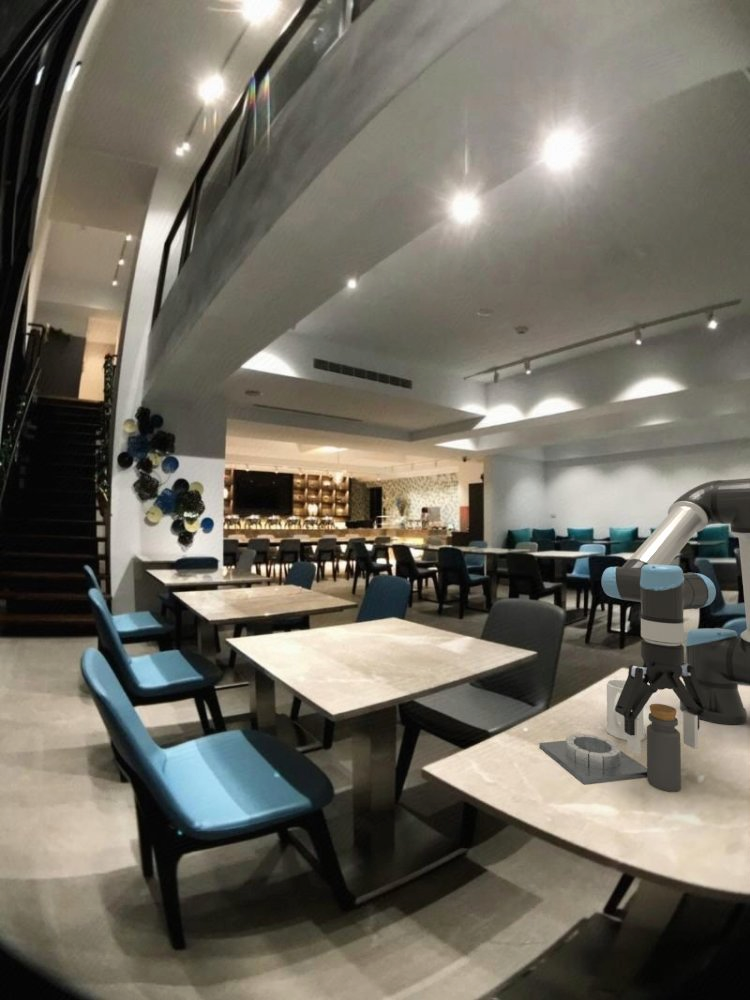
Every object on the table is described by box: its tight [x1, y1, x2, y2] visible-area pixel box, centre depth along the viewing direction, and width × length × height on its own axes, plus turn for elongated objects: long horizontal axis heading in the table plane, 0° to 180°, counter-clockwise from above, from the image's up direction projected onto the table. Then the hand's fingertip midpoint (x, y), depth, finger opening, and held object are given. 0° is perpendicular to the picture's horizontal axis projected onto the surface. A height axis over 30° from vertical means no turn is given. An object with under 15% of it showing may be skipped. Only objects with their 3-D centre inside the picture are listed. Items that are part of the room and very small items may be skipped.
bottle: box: [646, 703, 682, 793], centre depth 96 cm, size 6×6×15 cm
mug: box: [605, 679, 646, 741], centre depth 118 cm, size 12×8×12 cm
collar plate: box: [538, 733, 647, 785], centre depth 105 cm, size 16×16×4 cm
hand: (662, 748), depth 96 cm, fingers open, 13 cm apart
